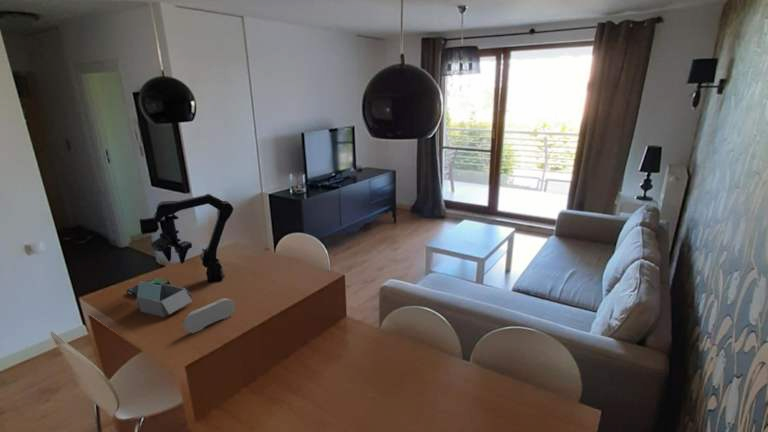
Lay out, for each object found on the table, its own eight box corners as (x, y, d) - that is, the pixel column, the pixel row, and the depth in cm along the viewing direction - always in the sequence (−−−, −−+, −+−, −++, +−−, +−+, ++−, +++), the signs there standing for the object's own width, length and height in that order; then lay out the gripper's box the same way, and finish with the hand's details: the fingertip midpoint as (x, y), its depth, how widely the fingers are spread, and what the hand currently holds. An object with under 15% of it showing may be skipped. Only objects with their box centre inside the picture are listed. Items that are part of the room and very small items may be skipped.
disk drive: (139, 300, 173) (171, 286, 185) (137, 294, 172) (169, 280, 184) (127, 295, 178) (158, 281, 190) (125, 290, 178) (157, 276, 190)
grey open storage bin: (167, 293, 177) (164, 279, 175) (200, 301, 169) (197, 286, 167) (135, 310, 164) (131, 295, 161) (169, 319, 155) (165, 303, 153)
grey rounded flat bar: (233, 312, 158) (230, 294, 156) (236, 314, 157) (233, 295, 155) (184, 335, 144) (180, 315, 142) (187, 337, 143) (183, 317, 140)
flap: (139, 281, 160) (138, 281, 160) (161, 285, 155) (160, 285, 155) (138, 295, 160) (137, 295, 160) (159, 300, 155) (158, 300, 155)
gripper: (137, 233, 170) (145, 266, 175) (167, 238, 163) (175, 272, 168) (160, 225, 180) (167, 257, 185) (189, 229, 173) (196, 262, 177)
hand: (175, 262), depth 178 cm, fingers open, 8 cm apart
